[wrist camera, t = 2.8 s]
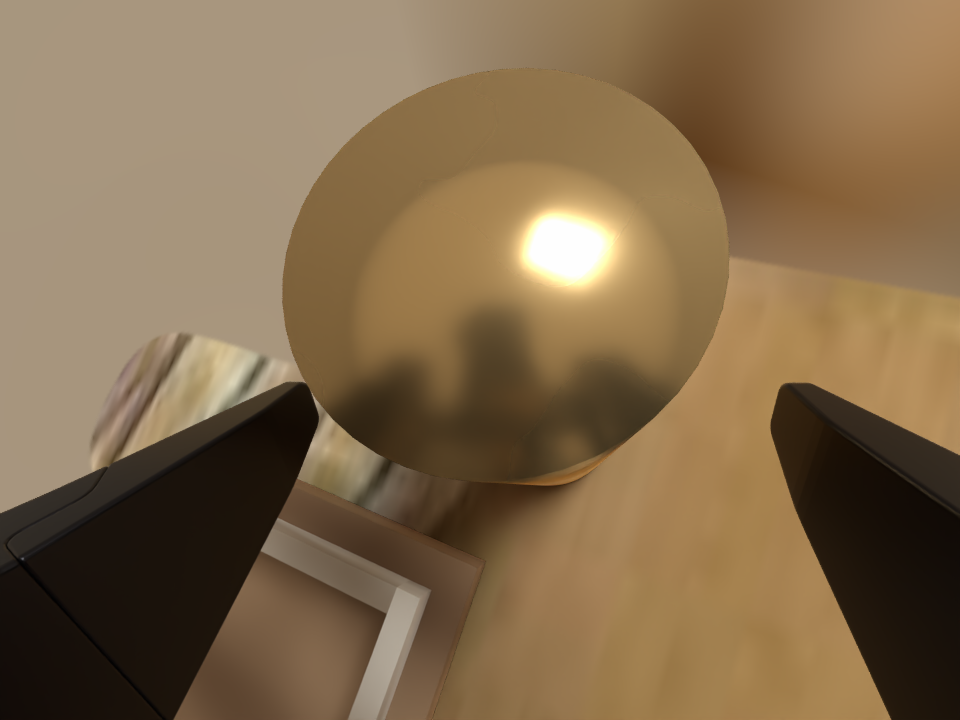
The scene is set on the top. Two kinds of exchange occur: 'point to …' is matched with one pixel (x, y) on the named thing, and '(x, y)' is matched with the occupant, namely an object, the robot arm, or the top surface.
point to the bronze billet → (506, 276)
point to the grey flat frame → (337, 620)
